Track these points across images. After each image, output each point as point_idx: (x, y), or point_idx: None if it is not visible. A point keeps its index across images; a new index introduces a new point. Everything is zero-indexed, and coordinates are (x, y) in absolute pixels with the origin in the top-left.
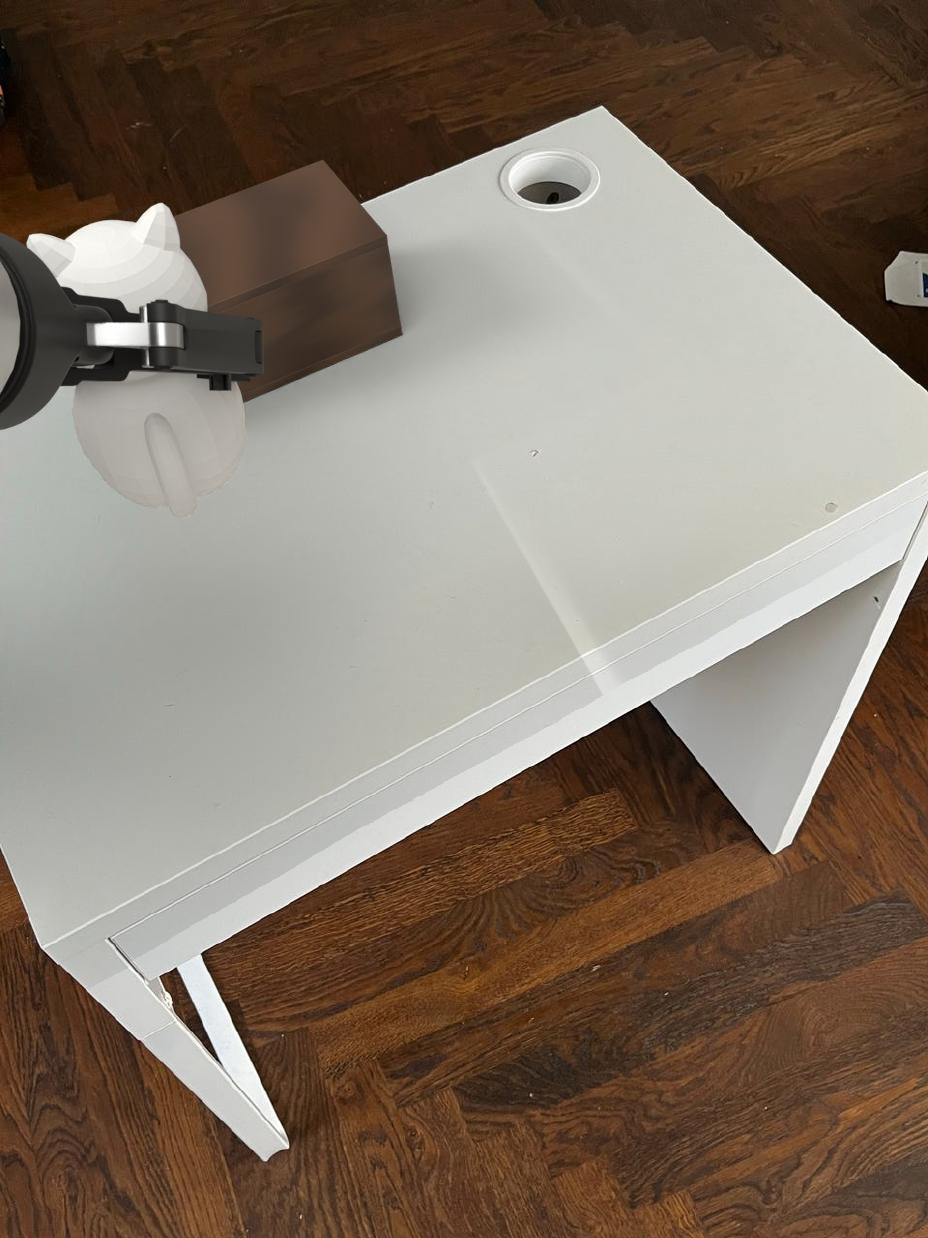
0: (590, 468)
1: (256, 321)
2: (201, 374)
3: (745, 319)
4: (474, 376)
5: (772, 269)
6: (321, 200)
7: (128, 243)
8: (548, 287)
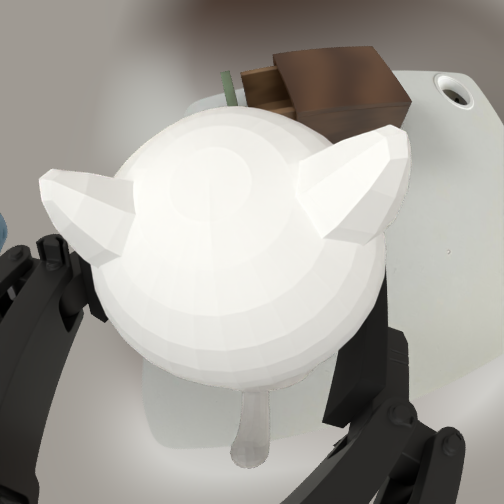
0: (469, 272)
1: (461, 465)
2: (331, 422)
3: None
4: (426, 186)
5: None
6: (373, 66)
7: (282, 236)
8: (459, 146)
